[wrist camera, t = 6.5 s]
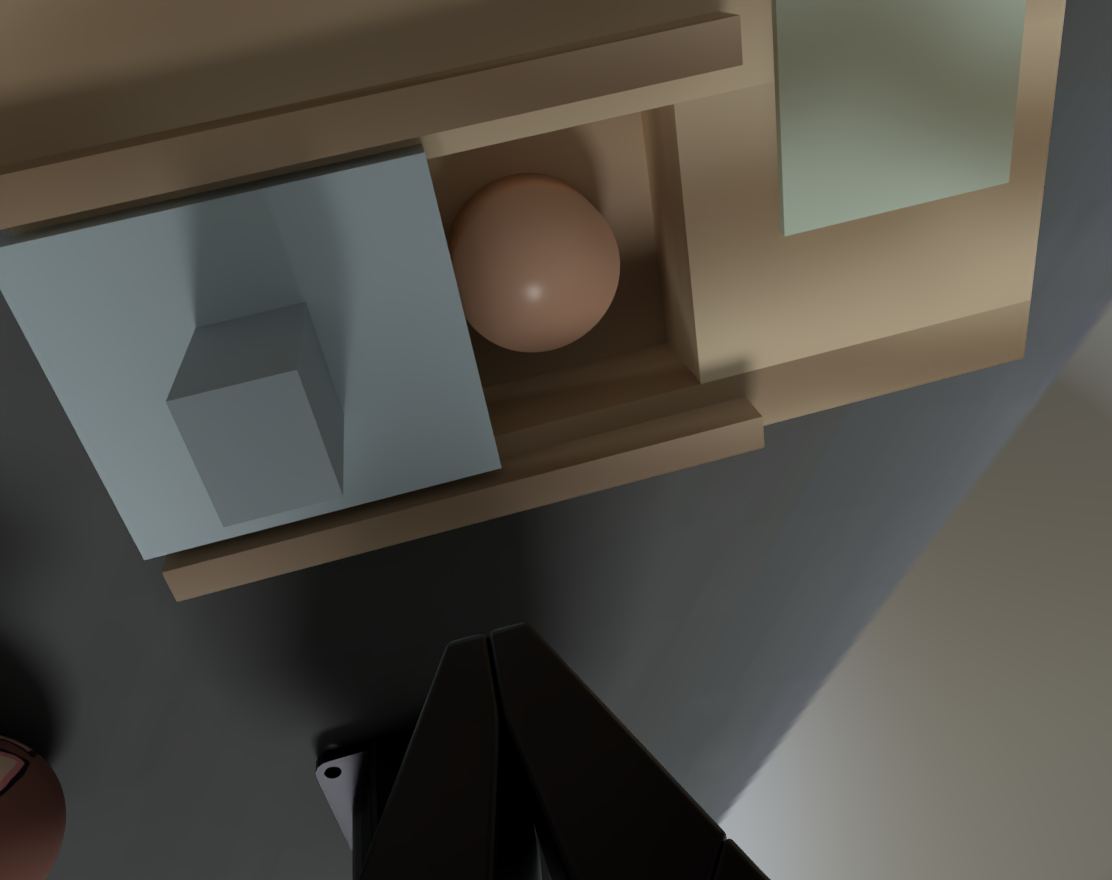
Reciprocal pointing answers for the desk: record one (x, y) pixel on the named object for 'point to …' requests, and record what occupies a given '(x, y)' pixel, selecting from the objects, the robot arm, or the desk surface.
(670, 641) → the desk surface
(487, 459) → the lid
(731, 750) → the desk surface
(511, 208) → the ball
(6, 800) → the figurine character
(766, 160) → the puzzle board
